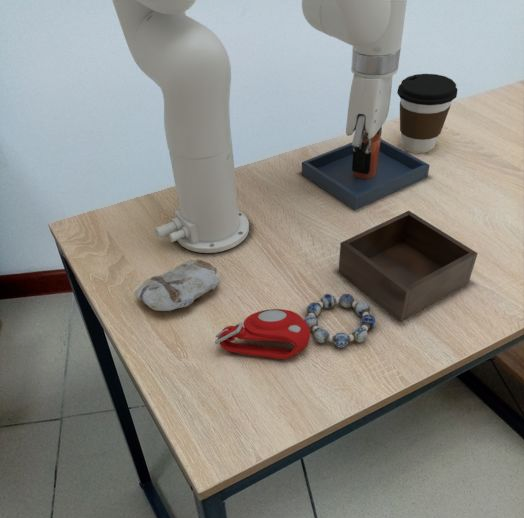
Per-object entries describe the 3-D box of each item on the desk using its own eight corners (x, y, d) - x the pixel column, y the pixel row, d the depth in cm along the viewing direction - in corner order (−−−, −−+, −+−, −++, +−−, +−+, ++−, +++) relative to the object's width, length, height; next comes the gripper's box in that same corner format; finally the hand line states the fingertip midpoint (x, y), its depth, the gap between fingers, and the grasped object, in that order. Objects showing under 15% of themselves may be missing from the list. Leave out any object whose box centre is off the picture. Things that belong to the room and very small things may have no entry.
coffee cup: (378, 146, 108) (386, 84, 99) (413, 128, 112) (423, 67, 103) (421, 165, 102) (433, 101, 93) (457, 145, 106) (471, 83, 97)
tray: (354, 209, 93) (355, 197, 91) (301, 174, 102) (301, 161, 100) (427, 177, 99) (429, 164, 97) (371, 146, 108) (372, 134, 106)
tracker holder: (270, 296, 77) (324, 314, 70) (272, 324, 79) (324, 344, 72) (206, 325, 69) (259, 348, 63) (209, 355, 72) (261, 380, 65)
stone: (166, 329, 75) (161, 312, 73) (130, 299, 80) (124, 282, 77) (229, 288, 80) (227, 271, 78) (192, 262, 85) (189, 245, 82)
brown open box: (400, 321, 74) (406, 291, 70) (338, 271, 82) (340, 242, 78) (468, 283, 78) (477, 253, 74) (403, 239, 86) (408, 210, 82)
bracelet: (317, 357, 70) (318, 346, 69) (293, 309, 76) (293, 299, 75) (385, 339, 72) (387, 328, 70) (356, 293, 78) (357, 283, 76)
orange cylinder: (363, 181, 98) (367, 145, 93) (348, 172, 100) (350, 136, 95) (381, 173, 99) (386, 137, 94) (365, 164, 102) (369, 129, 97)
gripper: (369, 40, 91) (361, 141, 105) (334, 77, 82) (329, 184, 95) (412, 44, 89) (398, 148, 102) (381, 83, 79) (370, 192, 93)
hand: (365, 164), depth 99 cm, fingers closed on orange cylinder, 4 cm apart
